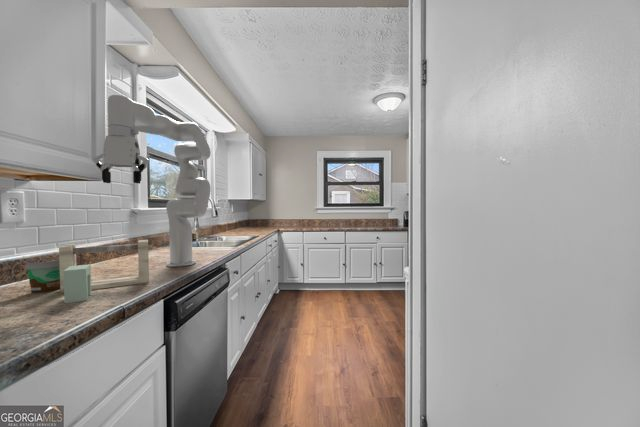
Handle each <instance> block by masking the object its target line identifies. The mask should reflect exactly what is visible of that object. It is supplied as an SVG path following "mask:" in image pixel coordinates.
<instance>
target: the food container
mask: <svg viewBox="0 0 640 427" xmlns="http://www.w3.org/2000/svg"><path fill="white" fill-rule="evenodd" d="M24 270H27V275H28V280H29V286H30V292H31V293H33V294H34V293H35V294H36V293H39V294H40V293H47V292H54V291H58V290H60V264H59V259H56V260H55V259H54V260H52V259H51V260H45V261H38V262H37V261H36V262H26V264H25V266H24Z"/></svg>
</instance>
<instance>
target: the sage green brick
mask: <svg viewBox="0 0 640 427" xmlns="http://www.w3.org/2000/svg"><path fill="white" fill-rule="evenodd" d="M63 273H64V293H63V297H64V304H70V303H79V302H86V301H88V300H89V296H91V295H92V290H91V281H92V266H91V264H79V265H76V266H69V267H68V268H67V269H65V270H64V271H63Z"/></svg>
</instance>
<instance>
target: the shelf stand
mask: <svg viewBox="0 0 640 427" xmlns="http://www.w3.org/2000/svg"><path fill="white" fill-rule="evenodd" d="M135 250H137V253H138V254H137V255H138V257H137V258H138V260H137V261H138V262H137V264H138V275H135V276H134V275H133V276H128V277H126V276H125V277H118V278H116V277H115V278H109V279H108V278H107V279H100V280H91V291H92V290H100V289H106V288H113V287H114V288H115V287H123V286H130V285H132V286H133V285H138V284H139V285H140V284H146V283H150V268H149V267H150V264H149V239H138V241H137V243H132V244H130V243H129V244H118V245H101V246H84V247H77V245H76V243H73V244H62V245H59V247H58V258H59V259H58V260H59V264H60V289H59V290H60V295H62V294H64V273H63V271H64V270H65V269H67V268H68V267H69V266H77V255H81V254H94V253H104V252H105V253H106V252H120V251H121V252H122V251H135Z"/></svg>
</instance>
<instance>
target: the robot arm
mask: <svg viewBox="0 0 640 427" xmlns="http://www.w3.org/2000/svg"><path fill="white" fill-rule="evenodd" d="M139 133H144V134H149V135H154V136H156V135H157V136H161V137H162V138H167V139H168V140H172V141H175V142H183V143H178V144H176V145H175V146H174V149H173V150H174V156H175V159H176V160H177V162H178V165H179V172H178V173H179V174H178V176H177V181H176V185H175V195H177V196H179V197H174V198H171V199H169V200H168V201H167V203H166V205H165V206H166V214H167V218H168V224H169V225H168V226H169V227H168V228H169V229H168V230H169V234H168V235H169V261H167V262H166V267H186V266H192V265H195V264H196V263H197V260H196V259H193V227H192V224H191V222H190V221H189V219H192V218H193V219H194V218H195V219H198V218H203V217H204V216H206V213H207V209H208V205H209V202H210V196H211V184H210V181H209V180H208V179H206V178H204V177H199V174H200V172H199V169H198V167H197V166H196V165H195V164H194V162H193V161H206V160H208V159H210V157H211V148H210V145H209V144H208V143H209V142H208V141H207V138H206V137H205V134H204V133H203V131H202V129H201V128H200V126H199V125H198V124H197V123H196V122H194V121H192V122H191V121H189V122H188V121H187V122H185V121H183V122H181V121H176V120H174V119H172V118H170V117H168V116H167V115H162V114H156V112H155V111H154V110H153V109H152V108H151V107H150V106H149V105H146V104H143V103H140V102H137V101H134V100H132V99H131V98H130V97H127V96H124V95H119V94H111V95H109V96H108V98H107V135H106V136H105V138H104V143H103V151H102V153H101V154H100V155H97V156H95V157H93V161H94V163H95V165H96V167H97V168H98V169H99V170H100V171H101V179H102V183H105V184H110V183H112V178H111V177H112V176H111V174H112V173H111V171H110V170H111V169H112V168H113V167H115V168H133V169H134V171H133V176H132V179H133V183H134V184H139V185H140V184H141V181H142V173H143V172H144V170H145V169H146V168H147V167H148V165H149V163H150V159H148V158H147V157H145V156H143V155H142V154H141V150H140V144H139V140H138V138H136V136H137V135H139ZM102 161H103V163H102ZM141 161H142V162H141Z"/></svg>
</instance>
